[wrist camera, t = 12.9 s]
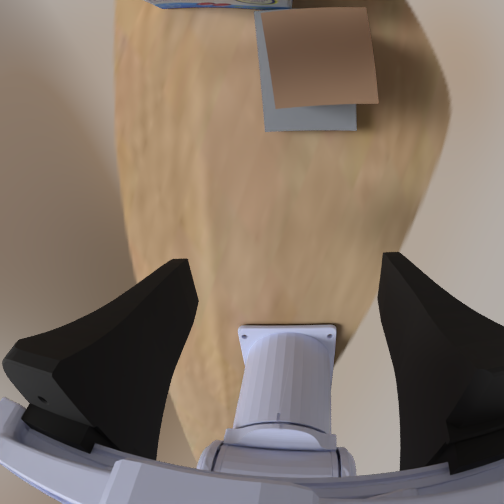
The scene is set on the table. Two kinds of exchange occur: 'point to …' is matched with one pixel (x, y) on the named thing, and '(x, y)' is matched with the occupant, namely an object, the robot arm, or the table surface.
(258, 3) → the medicine box
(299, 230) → the table surface
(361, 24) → the walnut cube
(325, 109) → the slate block
